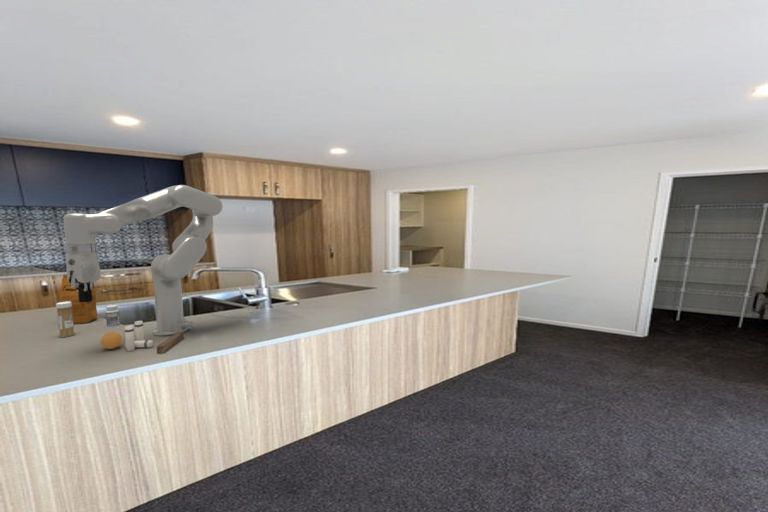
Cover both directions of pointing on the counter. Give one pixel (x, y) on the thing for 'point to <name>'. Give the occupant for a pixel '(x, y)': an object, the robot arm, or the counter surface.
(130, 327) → the pin
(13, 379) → the counter surface
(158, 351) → the brown wooden bar
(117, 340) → the ball
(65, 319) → the sprinkles bottle
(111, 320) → the pill bottle
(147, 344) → the front pin
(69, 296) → the coffee package
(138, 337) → the pin
